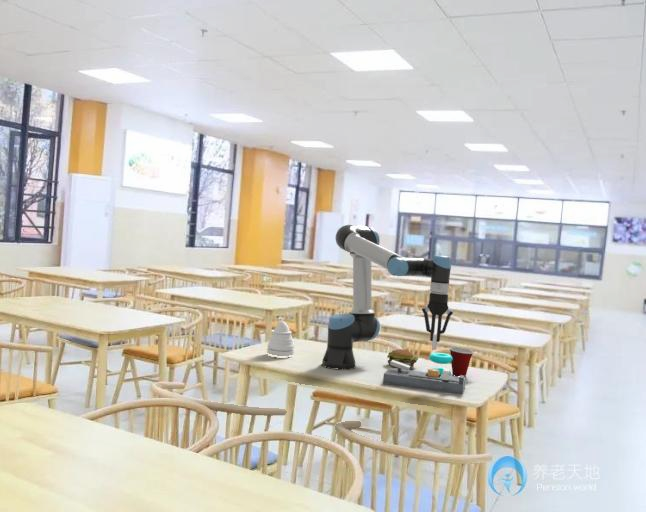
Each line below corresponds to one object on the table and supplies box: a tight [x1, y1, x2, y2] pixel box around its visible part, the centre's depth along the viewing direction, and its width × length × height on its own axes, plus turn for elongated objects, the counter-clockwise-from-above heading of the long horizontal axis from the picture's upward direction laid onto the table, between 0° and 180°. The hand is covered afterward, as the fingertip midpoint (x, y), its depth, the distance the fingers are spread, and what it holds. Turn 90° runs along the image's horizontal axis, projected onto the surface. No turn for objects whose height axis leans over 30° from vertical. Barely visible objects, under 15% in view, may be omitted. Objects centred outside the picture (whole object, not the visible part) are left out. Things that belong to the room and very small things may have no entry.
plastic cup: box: [449, 346, 474, 377], centre depth 269 cm, size 11×11×12 cm
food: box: [386, 348, 419, 369], centre depth 282 cm, size 14×14×8 cm
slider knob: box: [442, 368, 451, 380], centre depth 241 cm, size 2×4×4 cm, turn 162°
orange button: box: [427, 368, 439, 377], centre depth 249 cm, size 5×5×5 cm
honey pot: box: [266, 317, 295, 356], centre depth 288 cm, size 13×13×18 cm
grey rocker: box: [390, 360, 411, 371], centre depth 254 cm, size 8×4×2 cm, turn 73°
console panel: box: [382, 367, 467, 395], centre depth 248 cm, size 32×13×6 cm, turn 72°
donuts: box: [429, 352, 453, 376], centre depth 264 cm, size 10×10×10 cm
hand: (434, 349), depth 249 cm, fingers closed
